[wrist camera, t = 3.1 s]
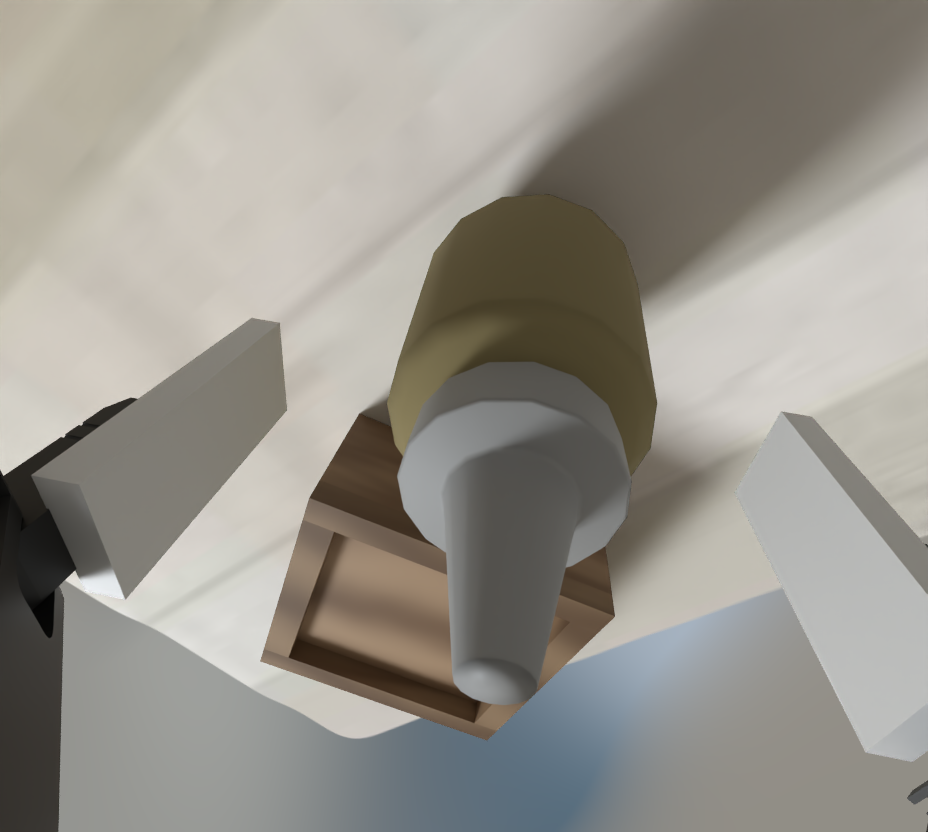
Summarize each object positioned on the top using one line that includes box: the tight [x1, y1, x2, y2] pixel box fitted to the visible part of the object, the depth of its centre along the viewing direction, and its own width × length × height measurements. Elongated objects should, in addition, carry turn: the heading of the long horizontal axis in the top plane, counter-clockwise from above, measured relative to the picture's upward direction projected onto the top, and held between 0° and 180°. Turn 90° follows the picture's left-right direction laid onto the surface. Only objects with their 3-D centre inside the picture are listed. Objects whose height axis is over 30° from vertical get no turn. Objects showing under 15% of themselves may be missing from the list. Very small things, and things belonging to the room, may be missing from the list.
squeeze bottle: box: [387, 194, 657, 705], centre depth 14 cm, size 8×8×18 cm
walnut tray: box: [261, 414, 615, 740], centre depth 29 cm, size 15×15×7 cm
